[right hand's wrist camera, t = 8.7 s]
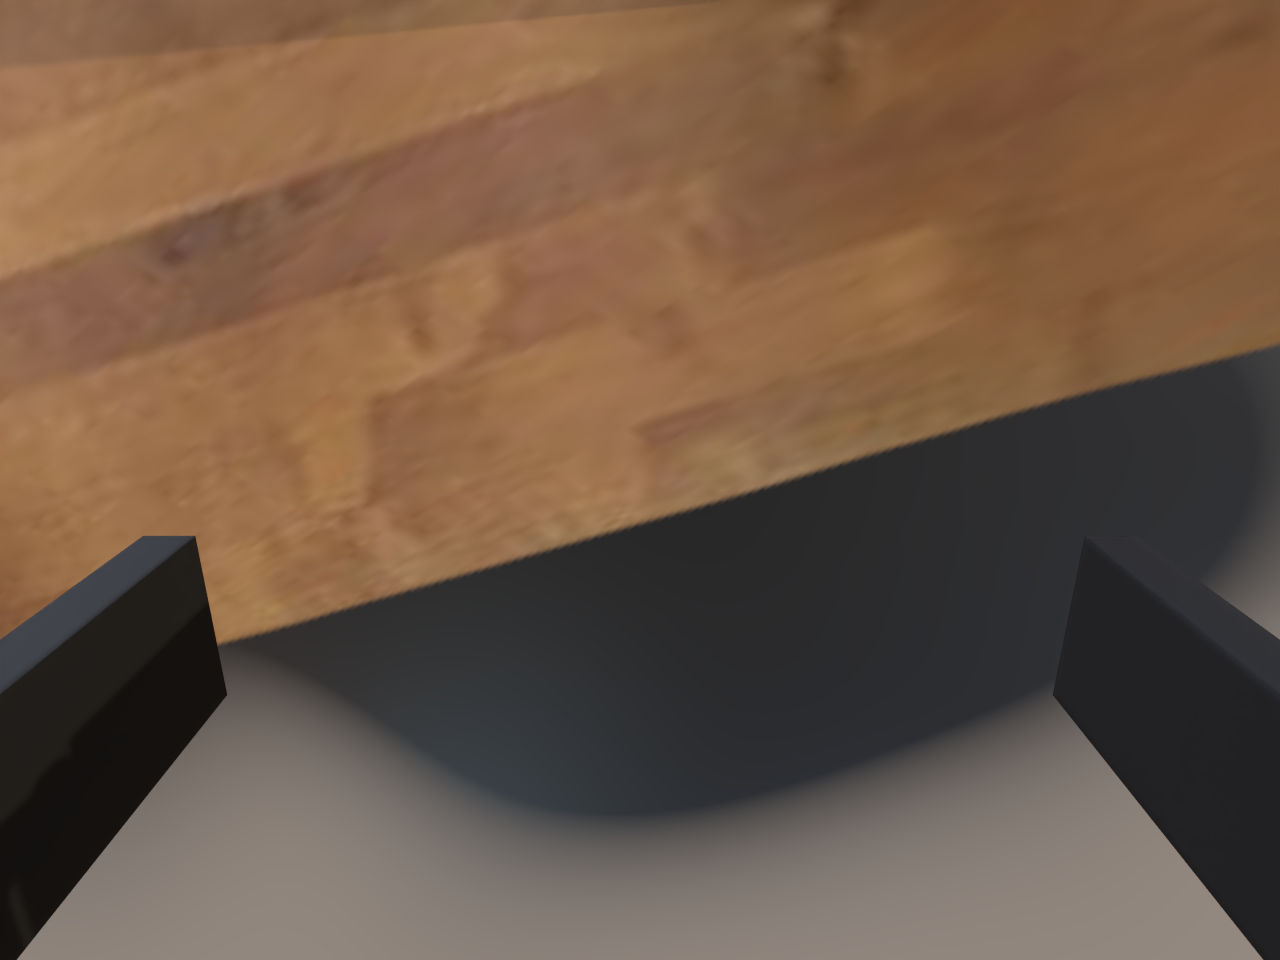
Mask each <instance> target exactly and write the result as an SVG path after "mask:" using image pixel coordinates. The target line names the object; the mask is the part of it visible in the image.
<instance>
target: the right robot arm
mask: <svg viewBox="0 0 1280 960" xmlns="http://www.w3.org/2000/svg"><path fill="white" fill-rule="evenodd" d="M226 696H227V692H226V687H225V682H224V677H223V672H222V667H221V662H220V657H219V652H218V647H217V642H216V637H215V632H214V627H213V622H212V617H211V612H210V607H209V602H208V597H207V592H206V587H205V582H204V577H203V572H202V567H201V562H200V558H199V553H198V548H197V543H196V538H195V536H143V537H141V538H140V539H138V540H137V541H136V542H134V543H133V544H132V545H130V546H129V547H127V548H126V549H125V550H123V551H122V552H121V553H119V554H118V555H116V556H115V557H114V558H112V559H111V560H110V561H108V562H107V563H105V564H104V565H103V566H101V567H100V568H99V569H97V570H96V571H94V572H93V573H92V574H90V575H89V576H87V577H86V578H85V579H83V580H82V581H81V582H79V583H78V584H76V585H75V586H74V587H72V588H71V589H70V590H68V591H67V592H65V593H64V594H63V595H61V596H60V597H59V598H57V599H56V600H54V601H53V602H52V603H50V604H49V605H48V606H46V607H45V608H43V609H42V610H41V611H39V612H38V613H37V614H35V615H34V616H32V617H31V618H30V619H28V620H27V621H25V622H24V623H23V624H21V625H20V626H19V627H17V628H16V629H14V630H13V631H12V632H10V633H9V634H8V635H6V636H5V637H3V638H2V639H1V640H0V960H17V959H18V957H19V956H20V955H21V954H22V952H23V951H24V950H25V948H26V947H27V946H28V945H29V943H30V942H31V941H32V940H33V938H34V937H35V936H36V935H37V933H38V932H39V931H40V930H41V928H42V927H43V926H44V925H45V923H46V922H47V921H48V920H49V918H50V917H51V916H52V914H53V913H54V912H55V911H56V909H57V908H58V907H59V906H60V904H61V903H62V902H63V901H64V899H65V898H66V897H67V896H68V894H69V893H70V892H71V891H72V889H73V888H74V887H75V886H76V884H77V883H78V882H79V881H80V879H81V878H82V877H83V876H84V874H85V873H86V872H87V871H88V869H89V868H90V867H91V865H92V864H93V863H94V862H95V860H96V859H97V858H98V857H99V855H100V854H101V853H102V852H103V850H104V849H105V848H106V847H107V845H108V844H109V843H110V842H111V840H112V839H113V838H114V836H115V835H116V834H117V833H118V831H119V830H120V829H121V828H122V826H123V825H124V824H125V823H126V821H127V820H128V819H129V818H130V816H131V815H132V814H133V813H134V811H135V810H136V809H137V808H138V806H139V805H140V804H141V803H142V801H143V800H144V799H145V798H146V796H147V795H148V794H149V792H150V791H151V790H152V789H153V787H154V786H155V785H156V784H157V782H158V781H159V780H160V779H161V777H162V776H163V775H164V774H165V772H166V771H167V770H168V769H169V767H170V766H171V765H172V764H173V762H174V761H175V760H176V759H177V757H178V756H179V755H180V754H181V752H182V751H183V750H184V748H185V747H186V746H187V745H188V743H189V742H190V741H191V740H192V738H193V737H194V736H195V735H196V733H197V732H198V731H199V730H200V728H201V727H202V726H203V725H204V723H205V722H206V721H207V720H208V718H209V717H210V716H211V715H212V713H213V712H214V711H215V709H216V708H217V707H218V706H219V704H220V703H221V702H222V701H223V699H224V698H225V697H226ZM1053 696H1054V697H1055V698H1056V699H1057V701H1058V702H1059V703H1060V704H1061V706H1062V707H1063V708H1064V710H1065V711H1066V712H1067V713H1068V715H1069V716H1070V717H1071V718H1072V720H1073V721H1074V722H1075V723H1076V725H1077V726H1078V727H1079V728H1080V730H1081V731H1082V732H1083V733H1084V735H1085V736H1086V737H1087V738H1088V740H1089V741H1090V742H1091V743H1092V745H1093V746H1094V747H1095V748H1096V750H1097V751H1098V752H1099V754H1100V755H1101V756H1102V757H1103V758H1104V760H1105V761H1106V762H1107V764H1108V765H1109V766H1110V767H1111V769H1112V770H1113V771H1114V772H1115V774H1116V775H1117V776H1118V777H1119V779H1120V780H1121V781H1122V782H1123V784H1124V785H1125V786H1126V787H1127V789H1128V790H1129V791H1130V792H1131V794H1132V795H1133V796H1134V797H1135V799H1136V800H1137V801H1138V803H1139V804H1140V805H1141V806H1142V808H1143V809H1144V810H1145V811H1146V813H1147V814H1148V815H1149V816H1150V818H1151V819H1152V820H1153V821H1154V823H1155V824H1156V825H1157V826H1158V828H1159V829H1160V830H1161V832H1162V833H1163V834H1164V835H1165V836H1166V838H1167V839H1168V840H1169V842H1170V843H1171V844H1172V845H1173V847H1174V848H1175V849H1176V850H1177V852H1178V853H1179V854H1180V855H1181V857H1182V858H1183V859H1184V860H1185V862H1186V863H1187V864H1188V865H1189V867H1190V868H1191V869H1192V870H1193V872H1194V873H1195V874H1196V876H1197V877H1198V878H1199V879H1200V881H1201V882H1202V883H1203V884H1204V886H1205V887H1206V888H1207V889H1208V891H1209V892H1210V893H1211V894H1212V896H1213V897H1214V898H1215V899H1216V901H1217V902H1218V903H1219V904H1220V906H1221V907H1222V908H1223V910H1224V911H1225V912H1226V913H1227V915H1228V916H1229V917H1230V918H1231V920H1232V921H1233V922H1234V923H1235V925H1236V926H1237V927H1238V928H1239V930H1240V931H1241V932H1242V933H1243V935H1244V936H1245V937H1246V938H1247V940H1248V941H1249V942H1250V943H1251V945H1252V946H1253V947H1254V948H1255V950H1256V951H1257V952H1258V954H1259V955H1260V956H1261V957H1262V959H1263V960H1280V640H1279V639H1278V638H1277V637H1275V636H1274V635H1272V634H1271V633H1270V632H1268V631H1267V630H1265V629H1264V628H1263V627H1261V626H1260V625H1259V624H1257V623H1256V622H1254V621H1253V620H1252V619H1250V618H1249V617H1248V616H1246V615H1245V614H1243V613H1242V612H1241V611H1239V610H1238V609H1237V608H1235V607H1234V606H1232V605H1231V604H1230V603H1228V602H1227V601H1226V600H1224V599H1223V598H1221V597H1220V596H1219V595H1217V594H1216V593H1215V592H1213V591H1212V590H1210V589H1209V588H1208V587H1206V586H1205V585H1204V584H1202V583H1201V582H1199V581H1198V580H1197V579H1195V578H1194V577H1193V576H1191V575H1190V574H1188V573H1187V572H1186V571H1184V570H1183V569H1181V568H1180V567H1179V566H1177V565H1176V564H1175V563H1173V562H1172V561H1170V560H1169V559H1168V558H1166V557H1165V556H1164V555H1162V554H1161V553H1159V552H1158V551H1157V550H1155V549H1154V548H1152V547H1151V546H1150V545H1148V544H1147V543H1146V542H1144V541H1143V540H1141V539H1140V538H1139V537H1137V536H1085V538H1084V543H1083V548H1082V553H1081V558H1080V563H1079V567H1078V573H1077V577H1076V582H1075V587H1074V592H1073V597H1072V602H1071V607H1070V612H1069V617H1068V622H1067V627H1066V632H1065V637H1064V642H1063V647H1062V652H1061V657H1060V662H1059V667H1058V672H1057V677H1056V682H1055V687H1054V692H1053Z"/></svg>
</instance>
